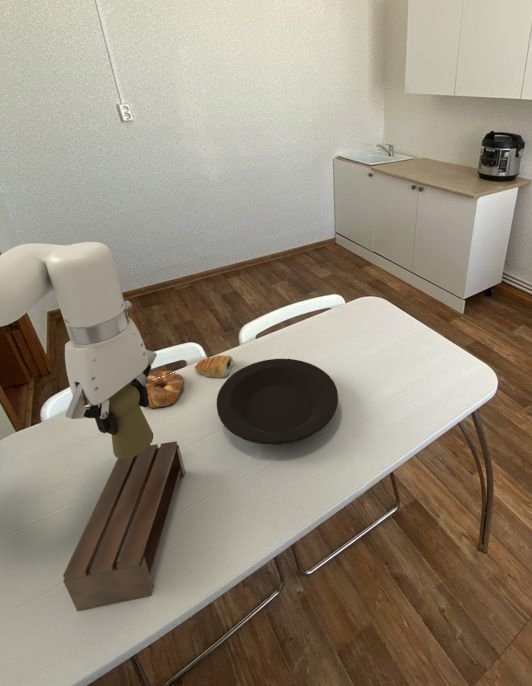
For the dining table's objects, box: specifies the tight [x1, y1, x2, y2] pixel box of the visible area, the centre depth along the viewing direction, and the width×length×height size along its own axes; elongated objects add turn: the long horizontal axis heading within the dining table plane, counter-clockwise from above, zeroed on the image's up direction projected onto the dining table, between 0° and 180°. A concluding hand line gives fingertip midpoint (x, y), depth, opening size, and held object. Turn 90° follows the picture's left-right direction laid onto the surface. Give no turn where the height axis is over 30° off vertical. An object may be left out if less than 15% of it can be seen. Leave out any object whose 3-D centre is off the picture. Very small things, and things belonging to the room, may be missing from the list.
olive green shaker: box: [109, 384, 154, 459], centre depth 63 cm, size 6×6×11 cm
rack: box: [62, 440, 186, 612], centre depth 63 cm, size 10×20×8 cm, turn 10°
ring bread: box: [146, 370, 184, 409], centre depth 94 cm, size 12×11×4 cm
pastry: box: [194, 354, 234, 379], centre depth 101 cm, size 9×7×4 cm
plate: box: [216, 358, 339, 446], centre depth 87 cm, size 28×24×6 cm
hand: (126, 416), depth 63 cm, fingers closed on olive green shaker, 5 cm apart
